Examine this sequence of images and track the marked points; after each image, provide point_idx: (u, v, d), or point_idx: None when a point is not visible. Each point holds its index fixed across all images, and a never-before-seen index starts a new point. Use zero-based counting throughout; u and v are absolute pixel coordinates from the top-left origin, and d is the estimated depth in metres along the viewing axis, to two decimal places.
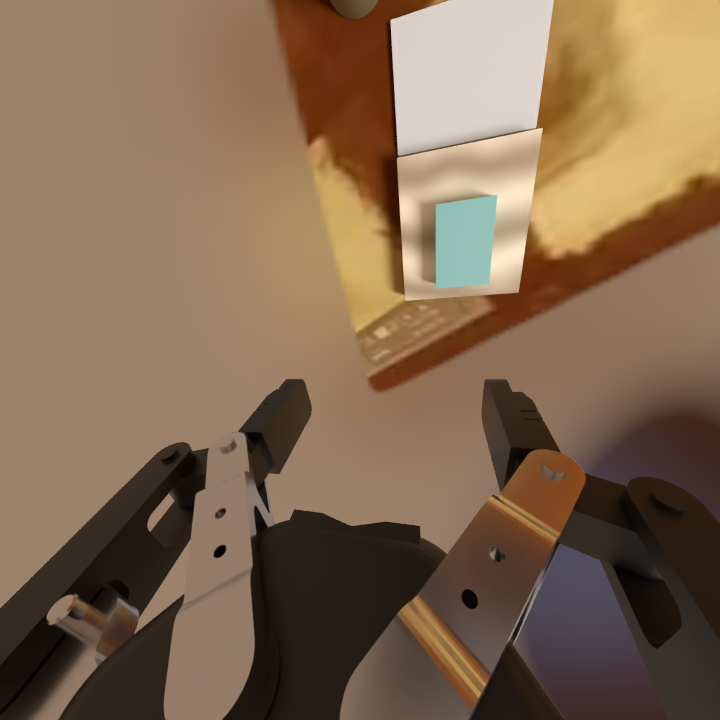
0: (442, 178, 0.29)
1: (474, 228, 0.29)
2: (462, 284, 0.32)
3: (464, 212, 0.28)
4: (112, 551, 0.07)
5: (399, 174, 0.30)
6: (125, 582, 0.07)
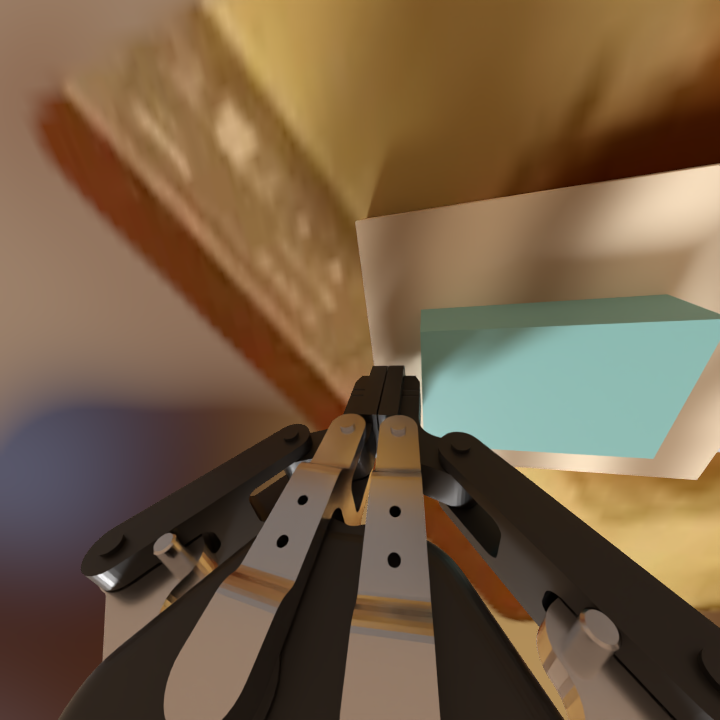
0: None
1: (584, 418, 0.10)
2: (427, 396, 0.11)
3: (646, 397, 0.10)
4: (215, 509, 0.07)
5: None
6: (220, 536, 0.07)
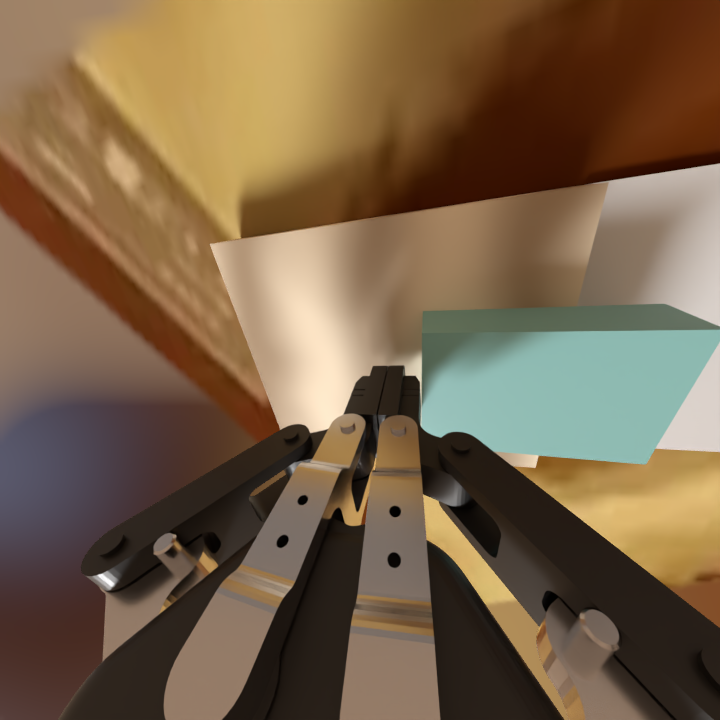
0: None
1: (580, 422, 0.11)
2: (427, 397, 0.12)
3: (641, 404, 0.10)
4: (215, 509, 0.07)
5: (554, 196, 0.09)
6: (220, 536, 0.07)
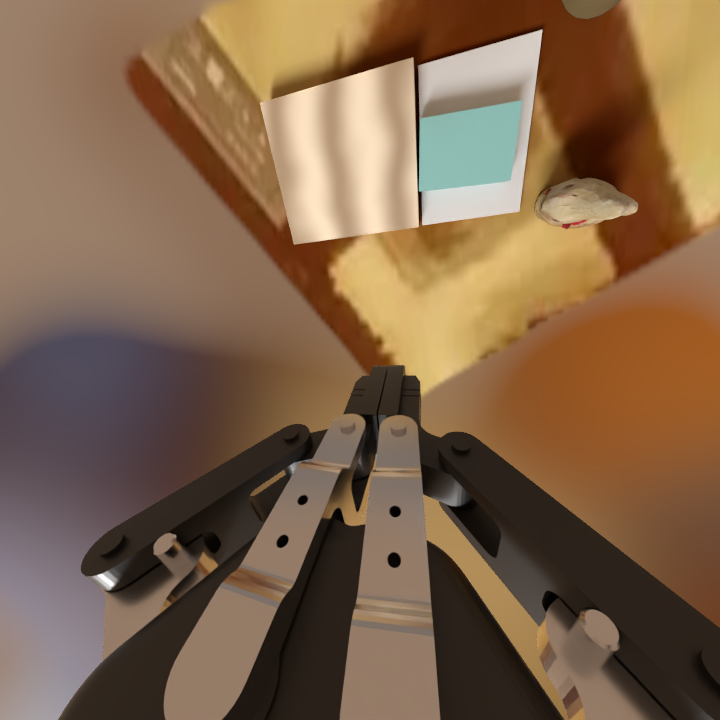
0: (388, 130, 0.27)
1: (483, 159, 0.26)
2: (421, 157, 0.27)
3: (503, 143, 0.26)
4: (215, 509, 0.07)
5: (396, 64, 0.25)
6: (220, 536, 0.07)
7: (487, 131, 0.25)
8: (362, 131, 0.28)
